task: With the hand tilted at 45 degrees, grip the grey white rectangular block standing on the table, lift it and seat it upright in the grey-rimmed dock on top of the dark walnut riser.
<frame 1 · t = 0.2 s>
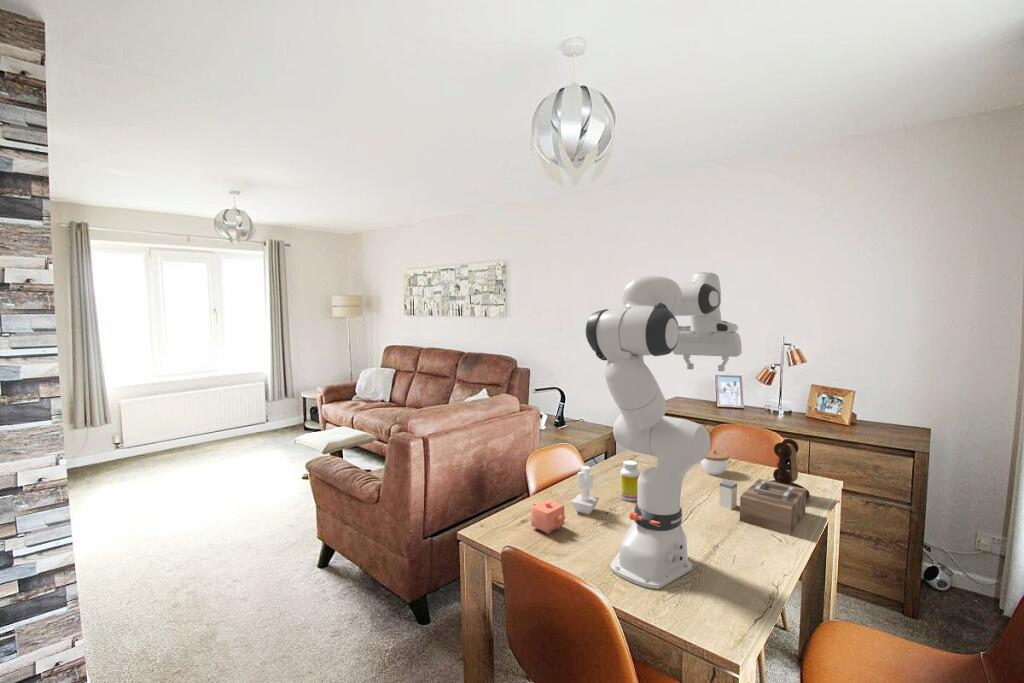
hand: (705, 370, 146), 48 cm above the table, tool pointing down, fingers open, 8 cm apart
grey white rectangular block: (727, 506, 158), on the table
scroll: (784, 496, 166), on the table
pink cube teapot: (549, 529, 144), on the table
supplement bottle: (629, 498, 166), on the table
figurine: (585, 510, 156), on the table
lidded jar: (714, 473, 190), on the table
walnut riser: (772, 516, 150), on the table
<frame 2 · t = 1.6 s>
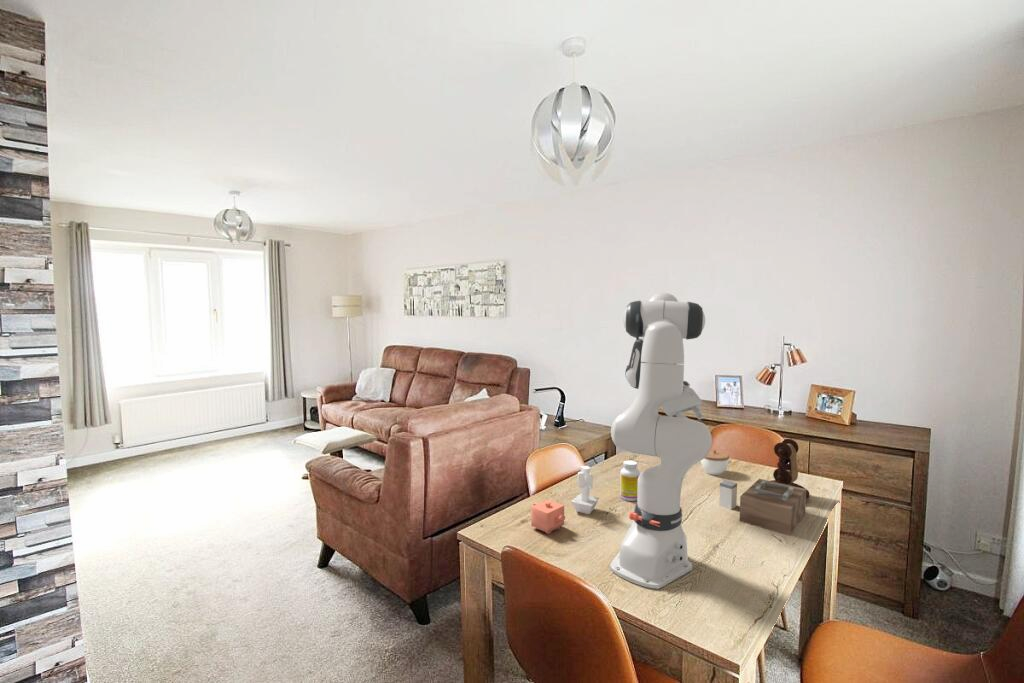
hand: (695, 420, 165), 27 cm above the table, tool tilted 45°, fingers open, 8 cm apart
nothing on the table moved.
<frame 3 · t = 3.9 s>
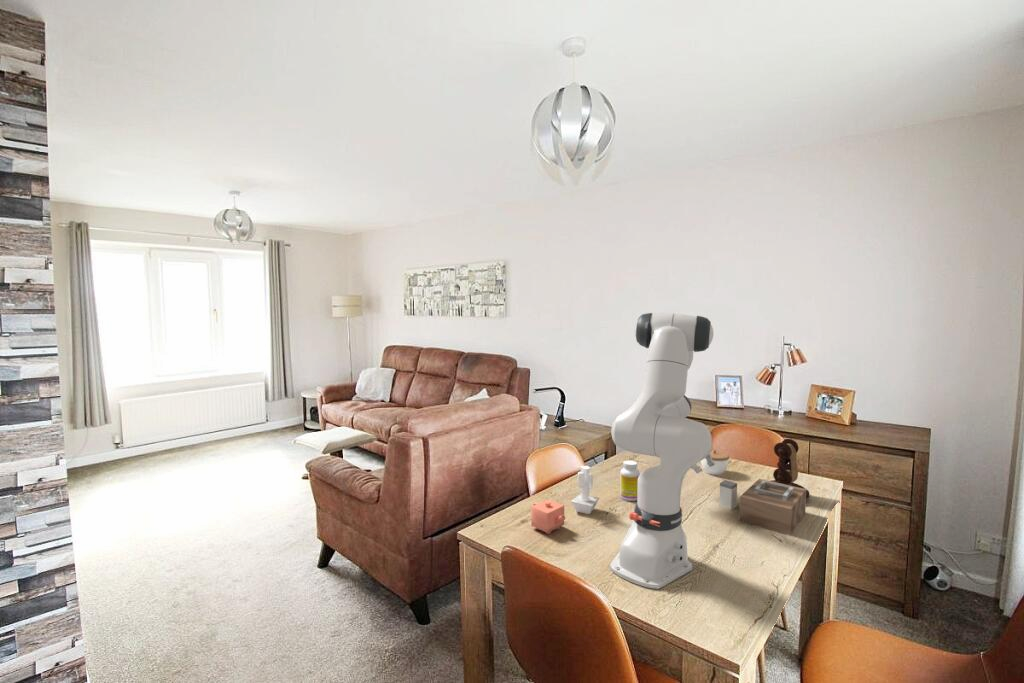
hand: (706, 468, 163), 11 cm above the table, tool tilted 45°, fingers open, 8 cm apart
nothing on the table moved.
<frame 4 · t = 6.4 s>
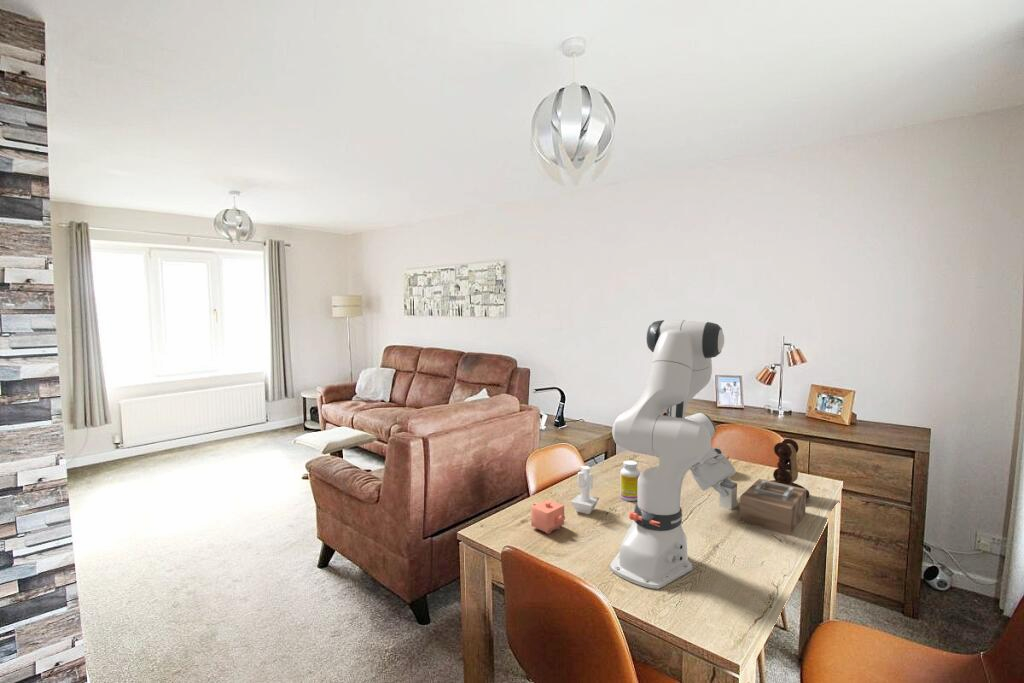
hand: (730, 493, 157), 4 cm above the table, tool tilted 45°, fingers closed on grey white rectangular block, 4 cm apart
grey white rectangular block: (727, 505, 158), on the table, touching gripper
everything else where it was.
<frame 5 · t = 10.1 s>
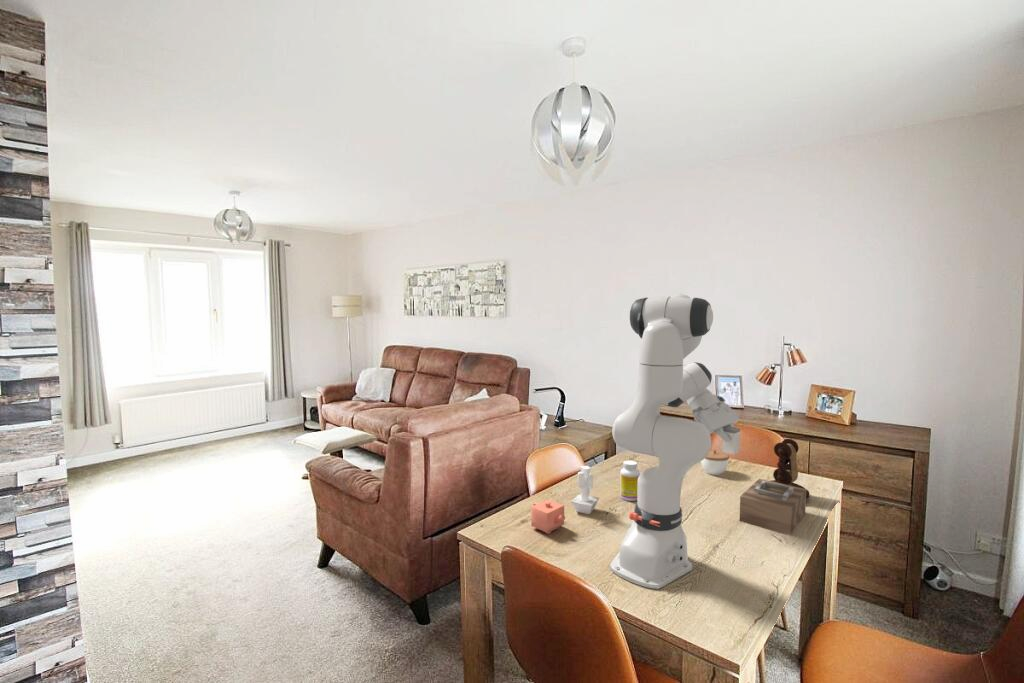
hand: (733, 439, 156), 23 cm above the table, tool tilted 45°, fingers closed on grey white rectangular block, 4 cm apart
grey white rectangular block: (730, 451, 156), point 19 cm above the table, touching gripper
everything else where it was.
when the fingers open (14 cm above the table, at t = 13.9 s): grey white rectangular block drops 1 cm, resting on walnut riser.
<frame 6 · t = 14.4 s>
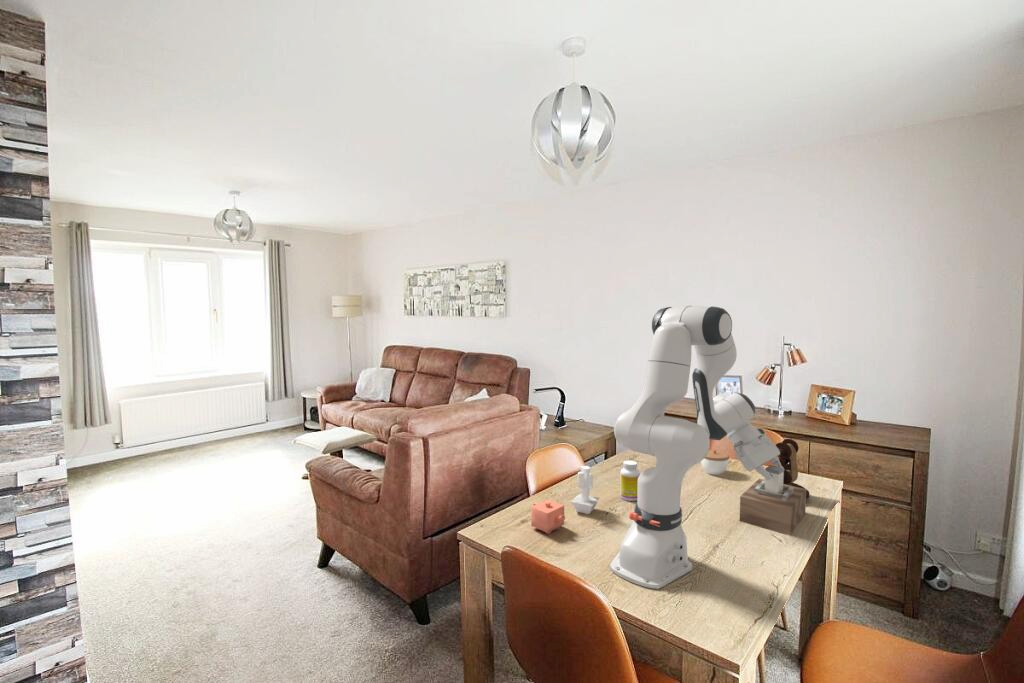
hand: (776, 475, 148), 14 cm above the table, tool tilted 45°, fingers open, 8 cm apart
grey white rectangular block: (773, 492, 149), point 8 cm above the table, touching walnut riser
everything else where it was.
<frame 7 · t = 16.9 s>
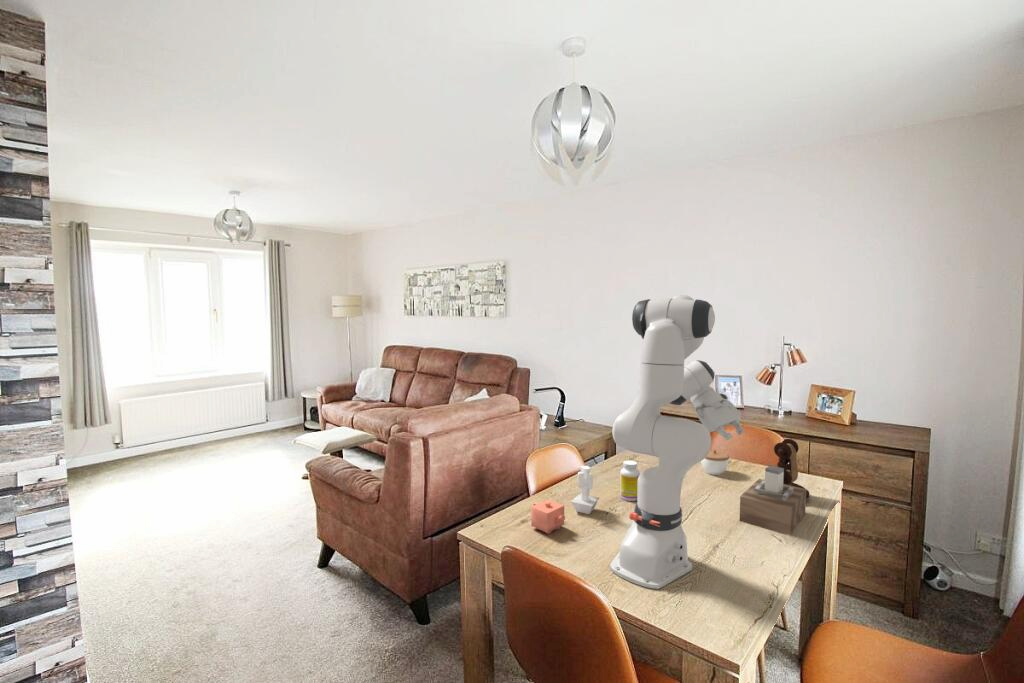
hand: (736, 436, 157), 24 cm above the table, tool tilted 45°, fingers open, 8 cm apart
nothing on the table moved.
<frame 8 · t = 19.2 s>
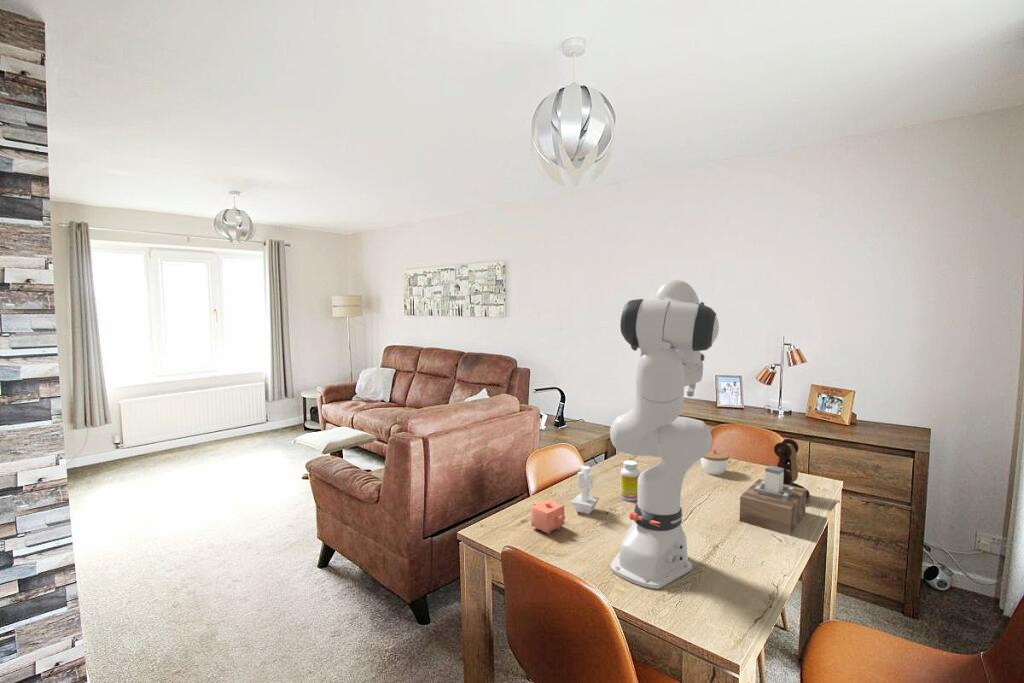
hand: (684, 398, 155), 37 cm above the table, tool pointing down, fingers open, 8 cm apart
nothing on the table moved.
at the end: grey white rectangular block 0.1 cm off-centre on the walnut riser, point 8.0 cm above the walnut riser's base; grey white rectangular block tilted 0°; the gripper is holding nothing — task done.
